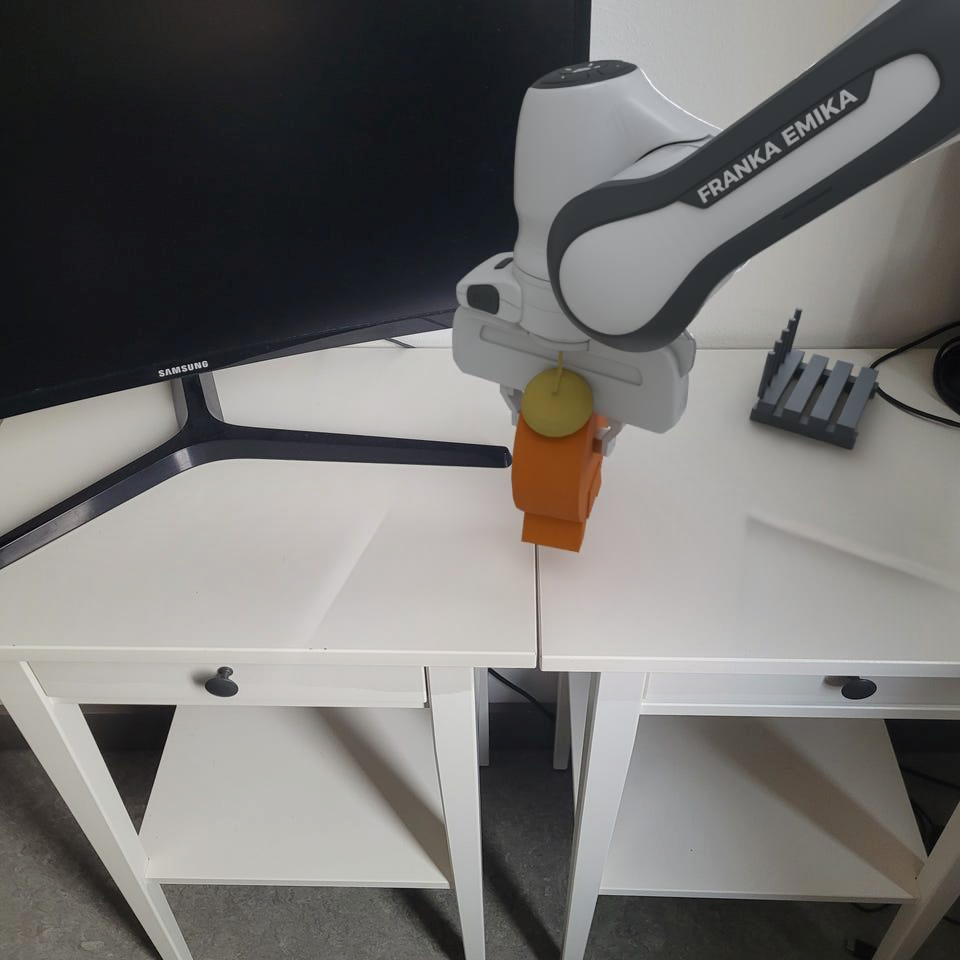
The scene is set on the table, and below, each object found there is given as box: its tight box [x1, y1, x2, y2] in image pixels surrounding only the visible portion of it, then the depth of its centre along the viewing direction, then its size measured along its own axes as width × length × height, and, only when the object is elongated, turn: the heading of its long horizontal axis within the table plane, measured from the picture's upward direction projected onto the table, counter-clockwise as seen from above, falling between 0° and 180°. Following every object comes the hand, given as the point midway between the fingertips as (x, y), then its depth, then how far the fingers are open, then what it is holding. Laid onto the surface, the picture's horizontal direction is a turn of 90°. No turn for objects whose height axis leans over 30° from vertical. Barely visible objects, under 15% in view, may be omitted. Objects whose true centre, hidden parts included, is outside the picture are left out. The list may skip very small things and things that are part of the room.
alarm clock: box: [510, 342, 609, 553], centre depth 71 cm, size 13×6×20 cm, turn 162°
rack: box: [749, 307, 880, 450], centre depth 98 cm, size 12×14×9 cm
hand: (561, 437), depth 72 cm, fingers closed on alarm clock, 6 cm apart
